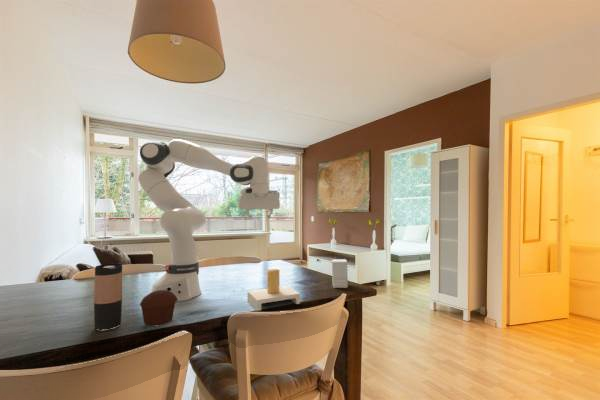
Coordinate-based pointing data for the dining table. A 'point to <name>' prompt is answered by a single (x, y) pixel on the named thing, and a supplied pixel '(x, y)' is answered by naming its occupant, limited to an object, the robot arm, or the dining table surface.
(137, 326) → the dining table surface
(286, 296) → the white bridge block
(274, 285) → the tan rectangular block
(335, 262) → the supplement box
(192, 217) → the robot arm
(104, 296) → the travel mug
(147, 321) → the muffin
